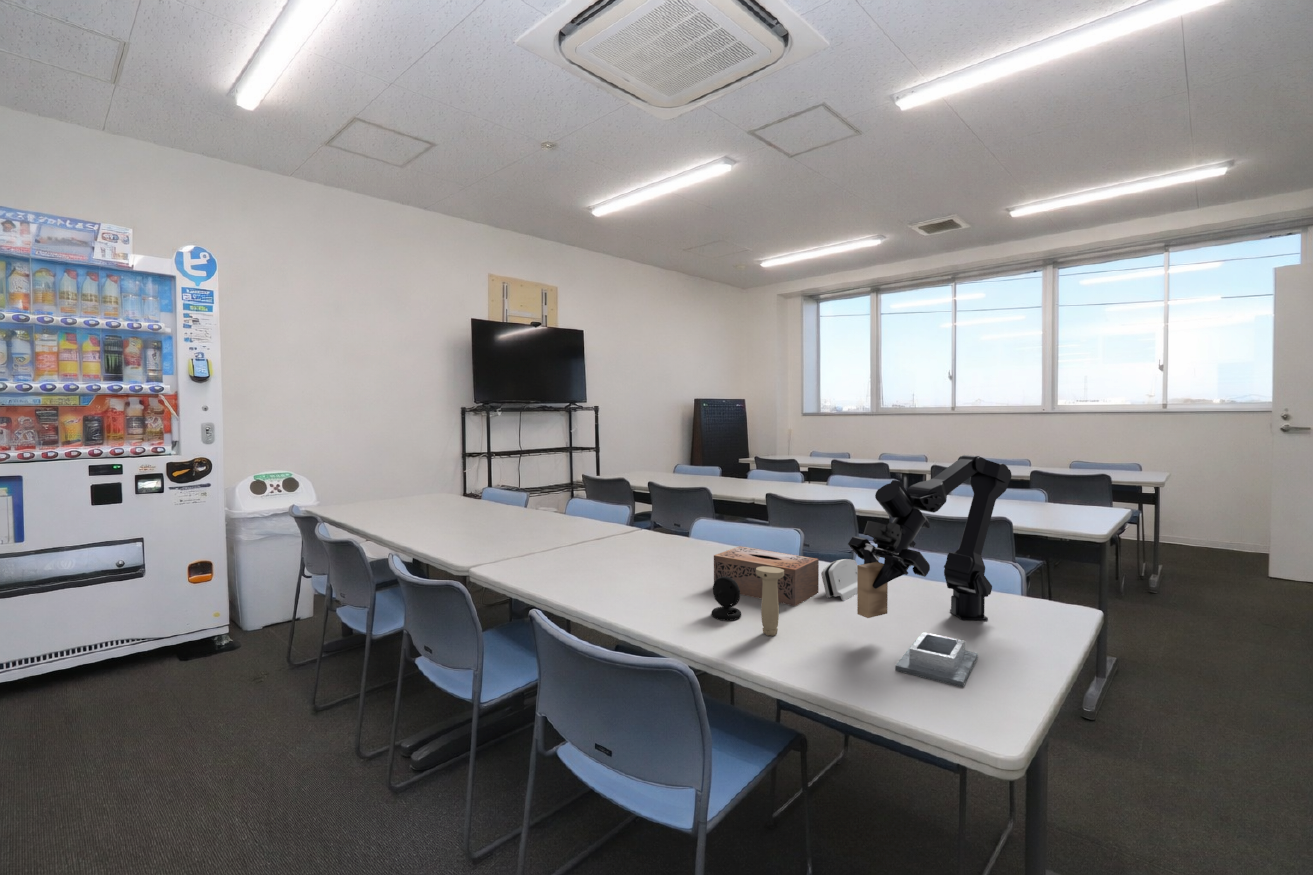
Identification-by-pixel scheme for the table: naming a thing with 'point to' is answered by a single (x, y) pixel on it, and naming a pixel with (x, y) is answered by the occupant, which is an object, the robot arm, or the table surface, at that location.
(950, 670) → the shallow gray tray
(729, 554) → the tissue box cover
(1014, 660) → the table surface
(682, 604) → the table surface
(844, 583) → the hinge
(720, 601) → the webcam
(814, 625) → the table surface
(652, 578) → the table surface
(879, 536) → the robot arm
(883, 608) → the tan tall block
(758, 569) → the handle
